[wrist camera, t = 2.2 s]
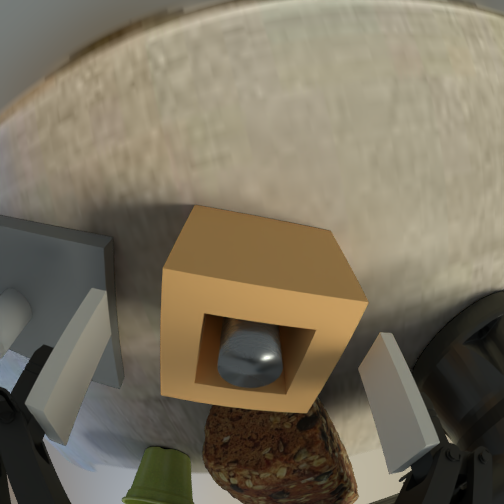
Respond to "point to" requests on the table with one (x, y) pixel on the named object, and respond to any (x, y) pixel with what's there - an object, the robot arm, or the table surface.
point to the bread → (278, 456)
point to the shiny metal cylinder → (249, 353)
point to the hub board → (53, 288)
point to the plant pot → (161, 479)
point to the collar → (255, 306)
